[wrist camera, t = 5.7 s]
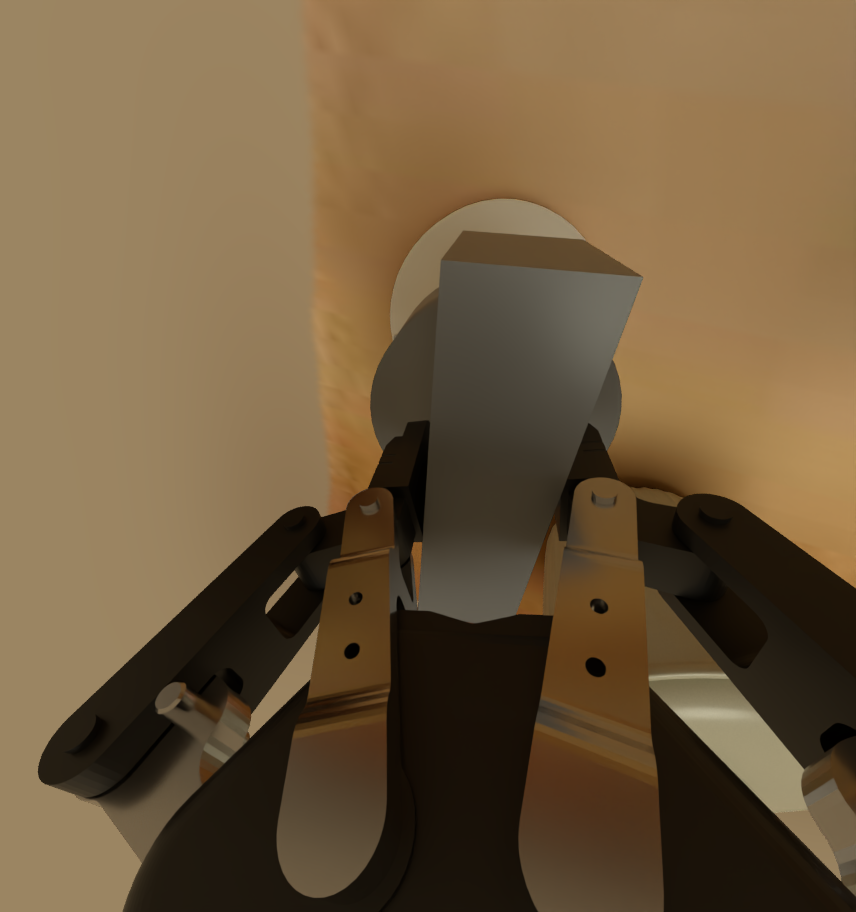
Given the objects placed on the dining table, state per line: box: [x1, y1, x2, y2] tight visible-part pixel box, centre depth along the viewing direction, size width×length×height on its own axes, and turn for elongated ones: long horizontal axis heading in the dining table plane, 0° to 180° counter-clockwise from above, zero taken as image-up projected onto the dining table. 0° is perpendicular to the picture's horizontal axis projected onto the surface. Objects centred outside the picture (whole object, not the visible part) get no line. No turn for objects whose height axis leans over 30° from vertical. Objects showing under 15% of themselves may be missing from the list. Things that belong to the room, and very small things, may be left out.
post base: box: [390, 199, 586, 340], centre depth 20 cm, size 13×13×9 cm
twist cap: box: [370, 230, 643, 623], centre depth 13 cm, size 12×9×9 cm
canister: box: [543, 487, 808, 813], centre depth 25 cm, size 18×18×21 cm
